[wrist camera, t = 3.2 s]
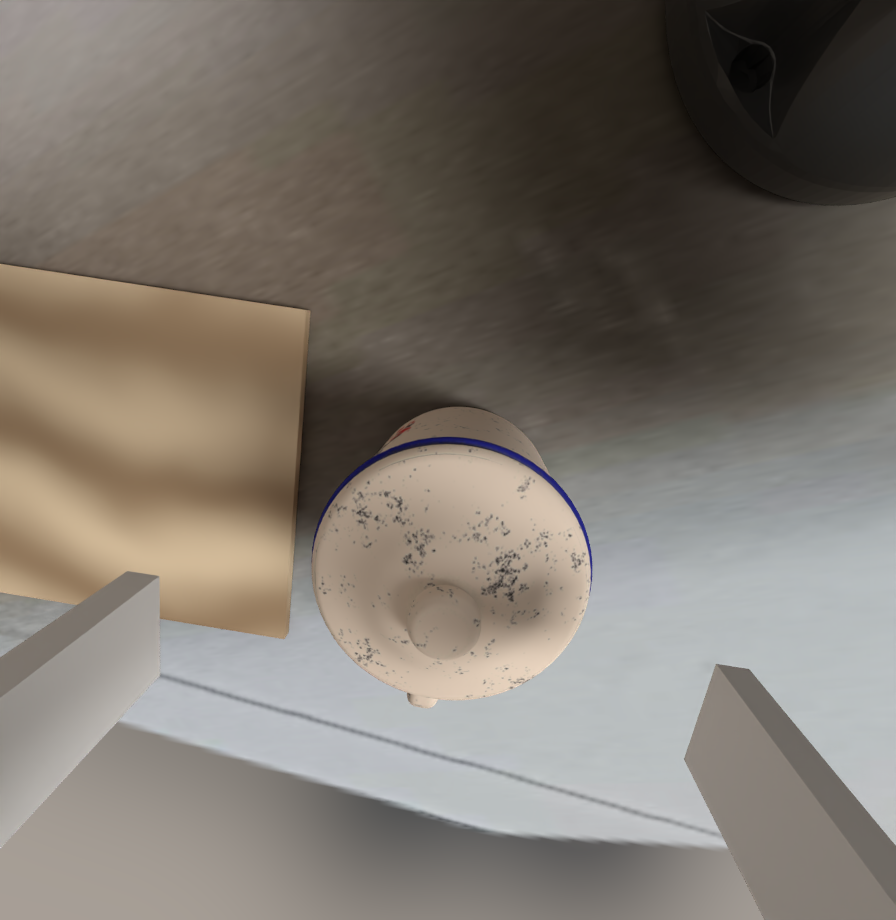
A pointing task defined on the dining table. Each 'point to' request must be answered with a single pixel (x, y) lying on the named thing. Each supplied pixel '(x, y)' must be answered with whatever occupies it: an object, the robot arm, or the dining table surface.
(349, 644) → the teacup with lid
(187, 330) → the cork mat
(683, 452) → the dining table surface
